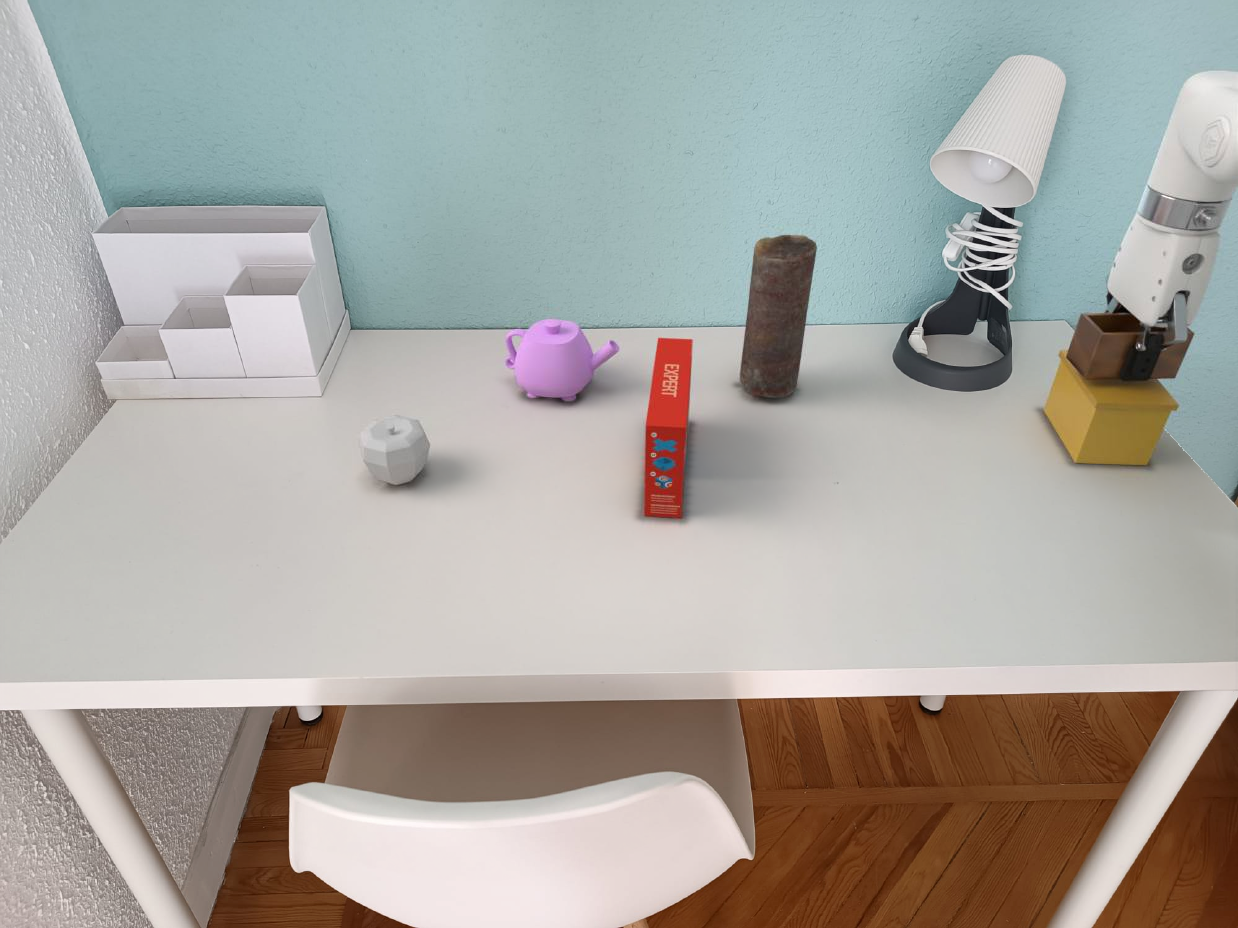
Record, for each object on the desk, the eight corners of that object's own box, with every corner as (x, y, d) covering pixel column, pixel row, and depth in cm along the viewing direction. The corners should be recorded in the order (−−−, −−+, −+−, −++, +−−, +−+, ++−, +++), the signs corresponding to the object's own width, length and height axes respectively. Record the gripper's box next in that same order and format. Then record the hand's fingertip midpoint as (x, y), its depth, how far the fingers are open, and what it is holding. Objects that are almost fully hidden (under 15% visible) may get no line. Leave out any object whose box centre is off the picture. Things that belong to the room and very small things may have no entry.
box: (1151, 467, 99) (1179, 404, 94) (1073, 464, 99) (1097, 402, 94) (1111, 411, 108) (1134, 351, 103) (1040, 409, 108) (1060, 349, 103)
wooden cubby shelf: (1151, 356, 100) (1169, 311, 97) (1175, 378, 96) (1195, 333, 93) (1065, 357, 100) (1080, 313, 96) (1085, 380, 96) (1101, 334, 92)
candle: (800, 406, 109) (822, 255, 97) (741, 406, 109) (756, 255, 97) (791, 375, 115) (811, 229, 103) (736, 375, 115) (749, 229, 103)
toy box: (655, 421, 106) (657, 337, 100) (688, 423, 106) (692, 339, 99) (644, 516, 92) (645, 425, 85) (681, 518, 92) (686, 427, 85)
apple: (372, 454, 101) (361, 407, 97) (440, 453, 101) (432, 406, 97) (357, 498, 95) (345, 448, 91) (429, 496, 95) (421, 447, 91)
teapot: (518, 362, 118) (512, 299, 113) (626, 372, 116) (626, 308, 110) (495, 402, 110) (488, 337, 105) (611, 414, 108) (610, 348, 102)
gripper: (1272, 240, 80) (1195, 407, 91) (1173, 178, 94) (1116, 329, 105) (1192, 241, 80) (1124, 408, 91) (1104, 179, 94) (1054, 330, 105)
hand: (1120, 364), depth 98 cm, fingers closed on wooden cubby shelf, 5 cm apart
